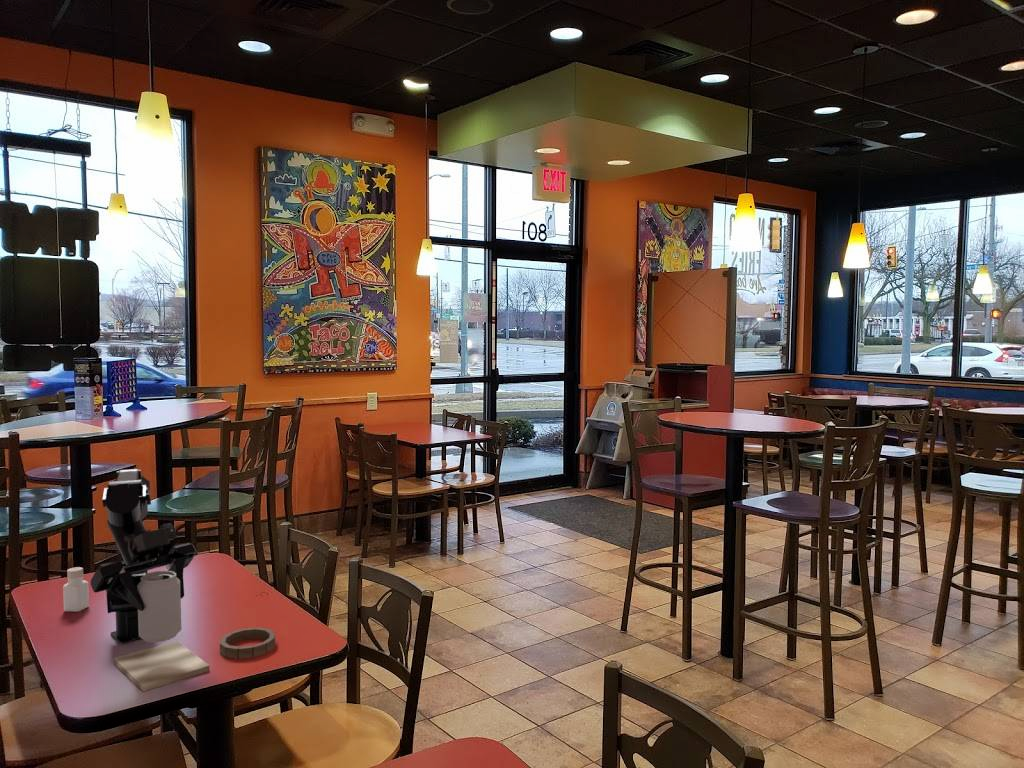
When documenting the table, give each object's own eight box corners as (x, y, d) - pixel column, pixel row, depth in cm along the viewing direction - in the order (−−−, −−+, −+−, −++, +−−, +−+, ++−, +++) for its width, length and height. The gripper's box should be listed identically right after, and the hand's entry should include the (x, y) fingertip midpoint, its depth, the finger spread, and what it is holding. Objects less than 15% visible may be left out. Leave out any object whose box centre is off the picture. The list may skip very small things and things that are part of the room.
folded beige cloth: (114, 663, 146) (113, 658, 146) (177, 645, 154) (177, 640, 154) (142, 691, 134) (142, 686, 134) (209, 670, 143) (209, 665, 143)
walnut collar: (211, 647, 153) (211, 637, 153) (260, 632, 161) (260, 623, 161) (234, 663, 146) (234, 653, 146) (284, 647, 153) (284, 638, 153)
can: (185, 637, 143) (184, 576, 142) (142, 647, 139) (140, 584, 138) (176, 625, 149) (174, 566, 148) (135, 634, 145) (133, 573, 144)
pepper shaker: (90, 606, 176) (88, 566, 175) (79, 612, 172) (77, 572, 171) (74, 605, 176) (72, 566, 176) (62, 612, 173) (61, 571, 172)
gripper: (95, 522, 137) (128, 594, 131) (190, 503, 152) (224, 567, 147) (76, 556, 142) (107, 627, 137) (170, 534, 157) (201, 597, 152)
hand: (163, 603), depth 143 cm, fingers closed on can, 7 cm apart
